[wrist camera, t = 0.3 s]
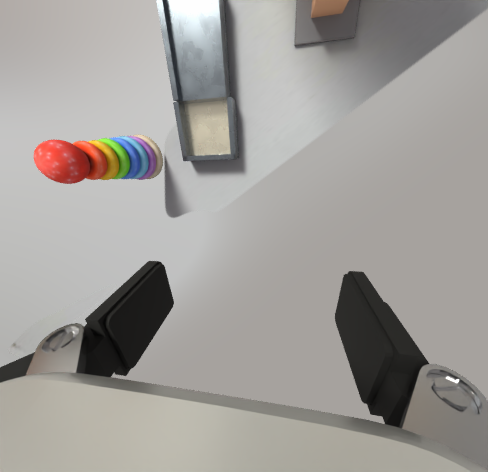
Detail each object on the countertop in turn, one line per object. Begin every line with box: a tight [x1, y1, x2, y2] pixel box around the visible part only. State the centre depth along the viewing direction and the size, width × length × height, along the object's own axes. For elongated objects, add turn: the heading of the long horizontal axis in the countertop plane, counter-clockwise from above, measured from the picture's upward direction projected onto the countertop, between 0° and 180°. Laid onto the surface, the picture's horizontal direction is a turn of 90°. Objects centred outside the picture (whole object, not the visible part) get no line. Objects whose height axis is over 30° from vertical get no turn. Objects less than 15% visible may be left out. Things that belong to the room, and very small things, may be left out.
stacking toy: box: [34, 135, 163, 184], centre depth 30 cm, size 8×8×19 cm
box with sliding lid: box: [156, 0, 239, 161], centre depth 30 cm, size 22×10×4 cm, turn 3°
